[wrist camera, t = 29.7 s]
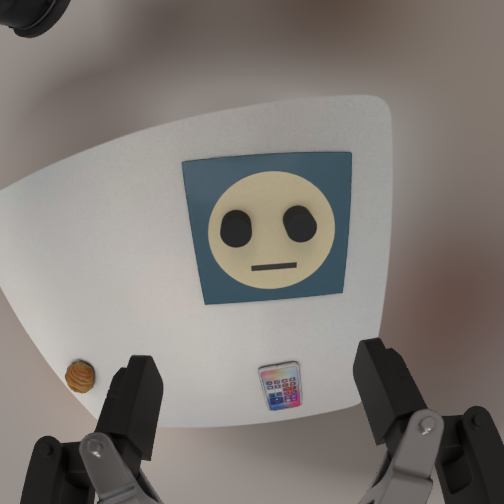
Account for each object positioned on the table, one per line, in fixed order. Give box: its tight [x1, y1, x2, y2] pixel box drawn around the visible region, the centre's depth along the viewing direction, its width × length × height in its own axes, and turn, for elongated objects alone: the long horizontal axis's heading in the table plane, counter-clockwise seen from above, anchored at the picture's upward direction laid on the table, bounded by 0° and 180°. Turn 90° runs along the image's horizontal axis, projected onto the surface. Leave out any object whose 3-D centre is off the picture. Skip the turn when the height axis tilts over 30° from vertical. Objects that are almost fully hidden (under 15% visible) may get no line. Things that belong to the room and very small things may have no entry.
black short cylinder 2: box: [283, 205, 317, 243], centre depth 33 cm, size 4×4×3 cm
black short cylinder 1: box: [220, 210, 252, 248], centre depth 33 cm, size 4×4×3 cm
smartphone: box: [258, 362, 302, 411], centre depth 50 cm, size 7×1×15 cm
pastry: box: [65, 361, 94, 393], centre depth 47 cm, size 9×7×4 cm
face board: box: [182, 152, 352, 305], centre depth 36 cm, size 20×20×1 cm
